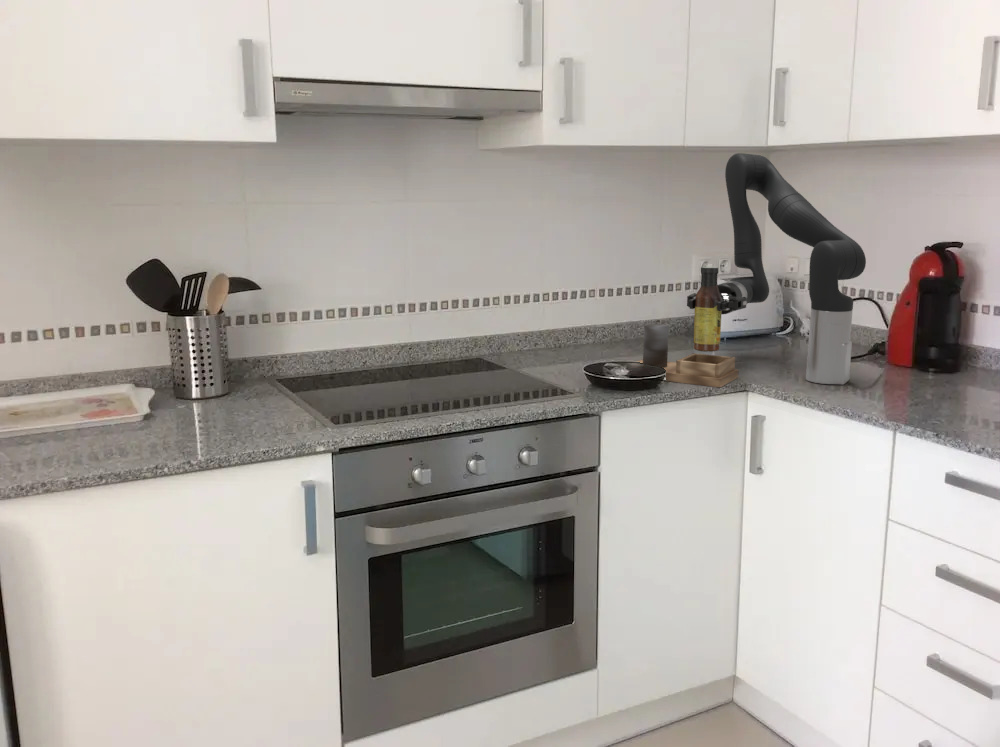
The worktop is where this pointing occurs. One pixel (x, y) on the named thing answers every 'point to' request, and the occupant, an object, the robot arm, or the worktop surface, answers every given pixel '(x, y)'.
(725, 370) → the condiment caddy
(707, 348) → the sauce bottle
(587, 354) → the worktop surface
